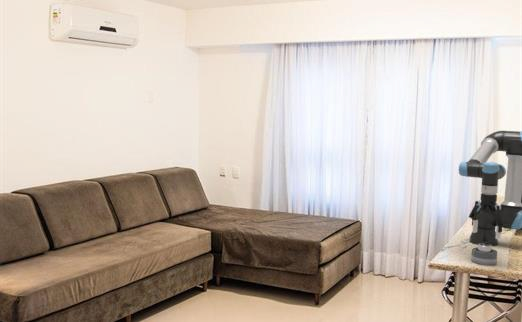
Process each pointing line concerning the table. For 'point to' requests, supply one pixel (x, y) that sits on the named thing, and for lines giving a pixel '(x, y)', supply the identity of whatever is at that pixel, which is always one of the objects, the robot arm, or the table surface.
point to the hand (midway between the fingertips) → (486, 235)
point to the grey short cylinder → (484, 257)
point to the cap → (484, 247)
